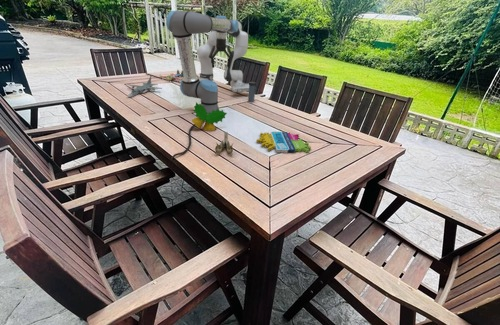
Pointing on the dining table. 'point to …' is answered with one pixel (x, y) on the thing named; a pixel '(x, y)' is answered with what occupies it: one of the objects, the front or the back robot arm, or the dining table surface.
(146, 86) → the airplane
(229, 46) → the front robot arm
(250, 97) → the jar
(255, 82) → the lid
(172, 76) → the toy
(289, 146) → the packaged colorful gloves
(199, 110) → the ornament
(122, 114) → the dining table surface
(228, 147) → the jawbone
